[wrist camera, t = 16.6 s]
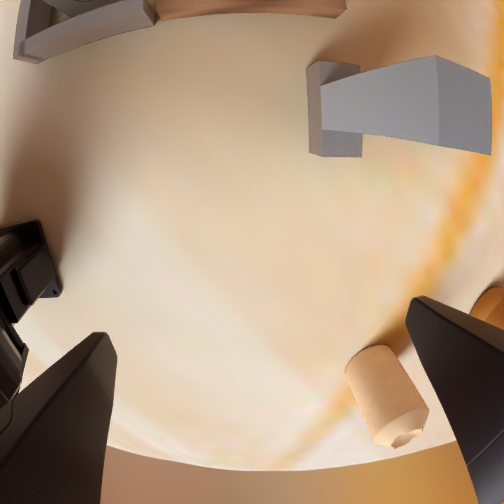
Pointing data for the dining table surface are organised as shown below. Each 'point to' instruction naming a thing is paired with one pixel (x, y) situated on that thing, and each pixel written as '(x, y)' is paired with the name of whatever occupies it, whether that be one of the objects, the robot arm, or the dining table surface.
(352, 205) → the dining table surface
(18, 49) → the box
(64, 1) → the dice cube
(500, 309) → the ornamental finial
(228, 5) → the slot rails
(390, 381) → the candle
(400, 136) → the grey notched beam
